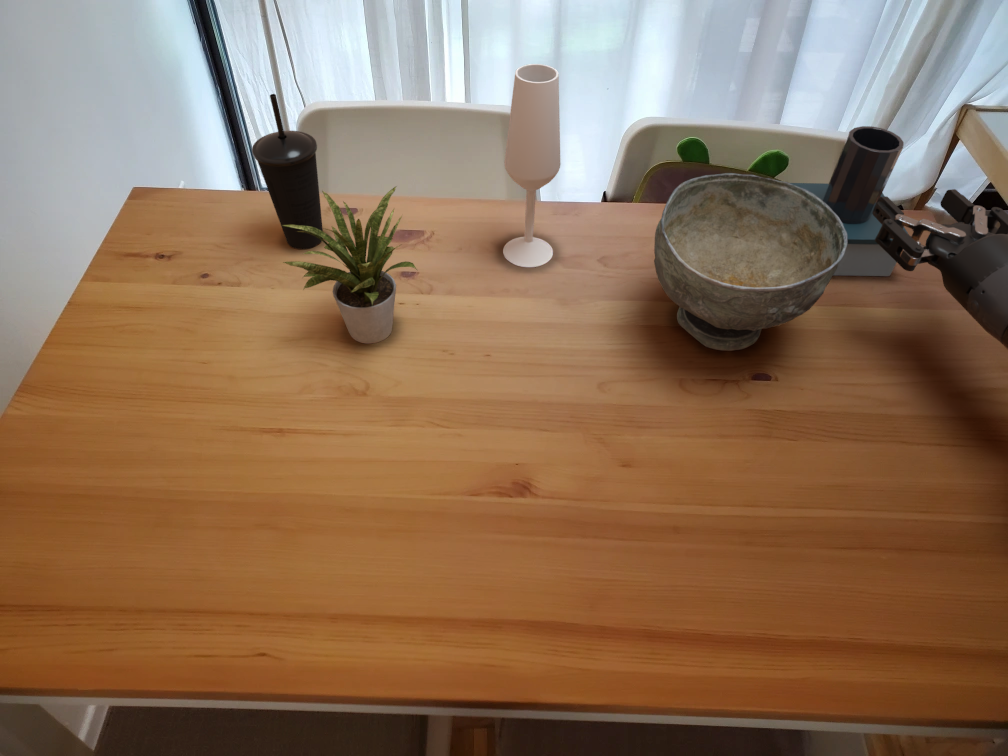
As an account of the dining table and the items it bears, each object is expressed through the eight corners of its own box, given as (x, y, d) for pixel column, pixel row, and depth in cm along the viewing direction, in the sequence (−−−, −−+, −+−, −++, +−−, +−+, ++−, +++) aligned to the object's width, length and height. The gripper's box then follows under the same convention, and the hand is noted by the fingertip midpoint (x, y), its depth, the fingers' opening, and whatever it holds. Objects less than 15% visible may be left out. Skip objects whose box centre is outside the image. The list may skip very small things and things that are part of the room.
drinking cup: (329, 256, 94) (300, 111, 80) (270, 256, 94) (230, 110, 80) (338, 222, 100) (312, 80, 85) (282, 221, 99) (247, 79, 85)
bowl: (652, 385, 80) (678, 280, 69) (628, 274, 93) (647, 171, 82) (828, 385, 80) (882, 280, 69) (780, 275, 93) (819, 172, 82)
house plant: (349, 272, 92) (328, 156, 80) (448, 297, 89) (442, 181, 77) (289, 344, 83) (255, 227, 71) (397, 376, 80) (381, 258, 68)
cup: (861, 197, 95) (892, 126, 88) (877, 224, 91) (911, 152, 84) (814, 196, 95) (842, 125, 88) (829, 223, 91) (858, 152, 84)
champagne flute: (541, 273, 93) (553, 92, 75) (494, 258, 95) (495, 79, 77) (561, 244, 97) (577, 67, 79) (515, 231, 99) (521, 55, 81)
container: (860, 221, 102) (877, 184, 97) (892, 278, 93) (912, 240, 89) (772, 219, 102) (784, 182, 97) (796, 276, 93) (811, 238, 89)
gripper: (1093, 252, 69) (984, 164, 80) (961, 269, 67) (868, 176, 78) (1048, 310, 75) (952, 221, 85) (925, 328, 72) (843, 233, 83)
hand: (912, 199), depth 82 cm, fingers open, 8 cm apart
